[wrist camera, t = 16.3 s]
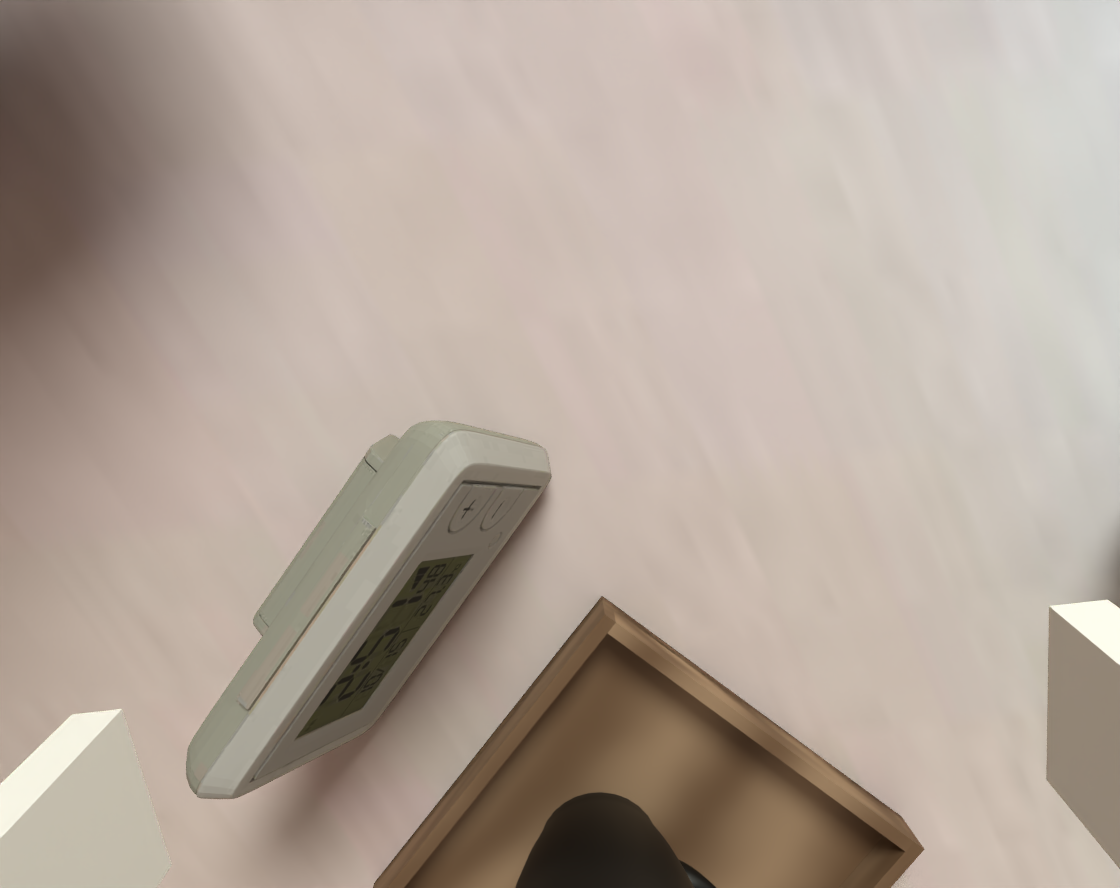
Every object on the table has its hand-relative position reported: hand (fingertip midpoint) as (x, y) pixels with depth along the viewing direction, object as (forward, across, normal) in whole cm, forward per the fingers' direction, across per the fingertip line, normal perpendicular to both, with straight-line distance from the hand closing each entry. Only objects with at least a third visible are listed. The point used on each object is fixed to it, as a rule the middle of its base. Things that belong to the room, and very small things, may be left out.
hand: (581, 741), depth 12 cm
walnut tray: (+23, 0, -22) cm, 32 cm away
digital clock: (+25, -9, -7) cm, 27 cm away
